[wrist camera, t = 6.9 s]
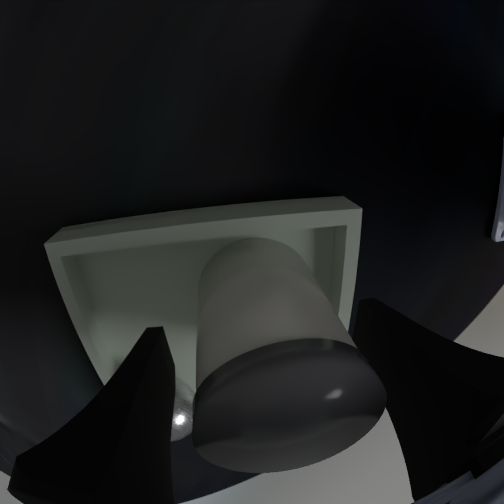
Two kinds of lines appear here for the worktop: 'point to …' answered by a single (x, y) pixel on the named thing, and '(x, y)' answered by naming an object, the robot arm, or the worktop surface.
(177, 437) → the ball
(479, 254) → the worktop surface
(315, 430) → the cylinder
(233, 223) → the tray
